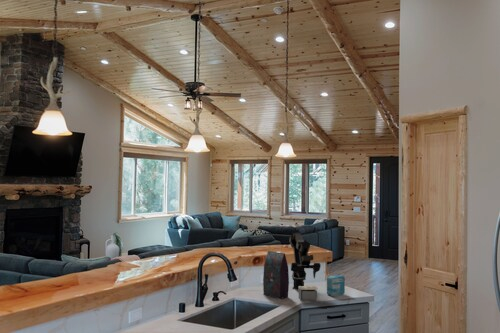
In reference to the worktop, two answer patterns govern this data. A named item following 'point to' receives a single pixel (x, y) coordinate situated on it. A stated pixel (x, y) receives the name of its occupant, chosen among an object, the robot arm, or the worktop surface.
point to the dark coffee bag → (276, 275)
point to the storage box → (307, 295)
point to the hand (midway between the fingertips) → (307, 278)
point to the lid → (307, 287)
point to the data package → (335, 285)
